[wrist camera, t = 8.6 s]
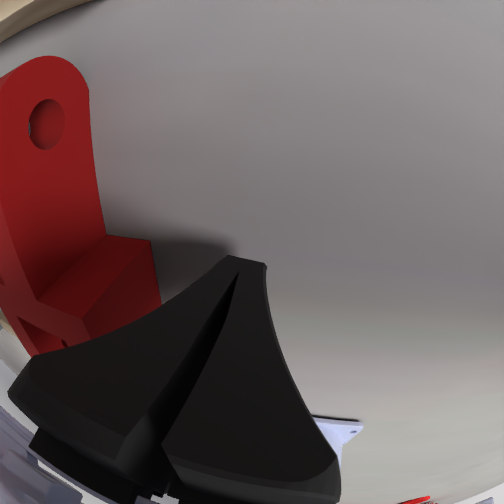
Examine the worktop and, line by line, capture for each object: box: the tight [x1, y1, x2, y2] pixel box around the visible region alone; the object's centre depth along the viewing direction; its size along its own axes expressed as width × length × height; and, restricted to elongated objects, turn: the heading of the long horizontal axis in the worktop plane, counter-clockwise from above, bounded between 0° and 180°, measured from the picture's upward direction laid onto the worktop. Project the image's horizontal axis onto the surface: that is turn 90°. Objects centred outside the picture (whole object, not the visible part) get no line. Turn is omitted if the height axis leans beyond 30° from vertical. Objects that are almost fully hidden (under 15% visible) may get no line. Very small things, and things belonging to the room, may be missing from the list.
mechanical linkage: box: [0, 56, 162, 358], centre depth 10 cm, size 16×7×5 cm, turn 178°
